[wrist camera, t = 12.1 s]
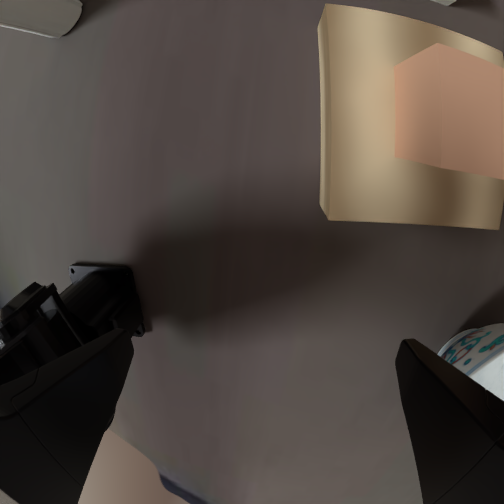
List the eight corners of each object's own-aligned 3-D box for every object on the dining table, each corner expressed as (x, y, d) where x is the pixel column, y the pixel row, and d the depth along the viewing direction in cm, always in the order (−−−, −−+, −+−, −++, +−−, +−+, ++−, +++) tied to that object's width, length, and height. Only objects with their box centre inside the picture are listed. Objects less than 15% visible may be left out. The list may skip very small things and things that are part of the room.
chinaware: (398, 422, 27) (413, 476, 19) (384, 328, 22) (413, 397, 15) (505, 371, 23) (531, 413, 16) (519, 265, 19) (569, 305, 12)
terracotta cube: (394, 157, 14) (440, 167, 9) (393, 66, 12) (437, 42, 7) (467, 168, 13) (522, 184, 9) (468, 85, 11) (522, 77, 7)
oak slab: (319, 204, 19) (328, 220, 15) (317, 27, 15) (325, 3, 11) (468, 213, 18) (498, 230, 14) (471, 60, 14) (502, 52, 10)
